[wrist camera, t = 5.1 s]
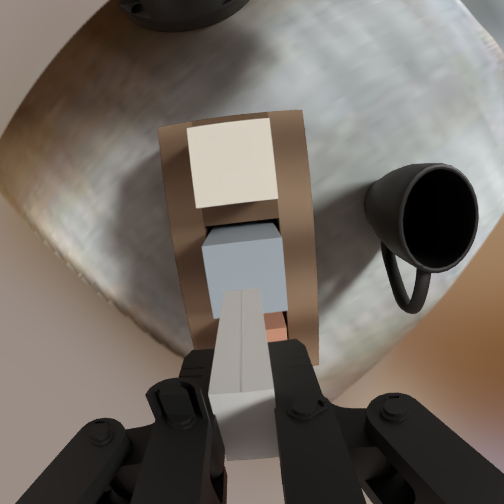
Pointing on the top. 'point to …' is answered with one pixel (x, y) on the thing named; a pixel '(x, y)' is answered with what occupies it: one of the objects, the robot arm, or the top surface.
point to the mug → (422, 223)
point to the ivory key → (232, 162)
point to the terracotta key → (275, 326)
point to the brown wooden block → (278, 210)
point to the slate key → (246, 263)
